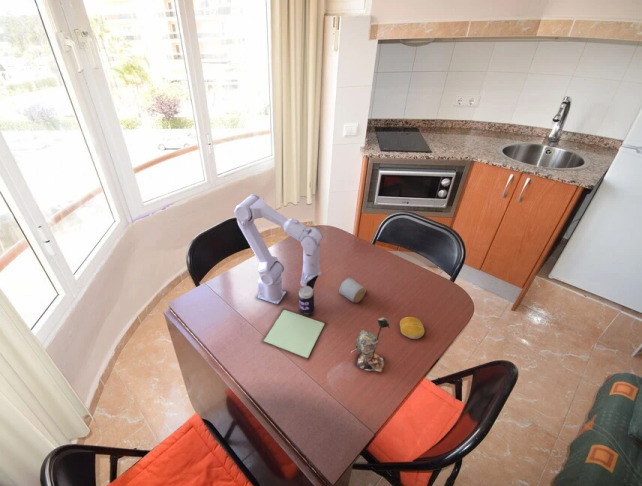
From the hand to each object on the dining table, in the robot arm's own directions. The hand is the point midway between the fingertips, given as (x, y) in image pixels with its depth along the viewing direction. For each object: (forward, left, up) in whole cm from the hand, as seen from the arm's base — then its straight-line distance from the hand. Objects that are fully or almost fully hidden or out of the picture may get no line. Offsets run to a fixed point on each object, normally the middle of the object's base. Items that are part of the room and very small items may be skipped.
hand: (310, 289), depth 123 cm
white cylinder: (+14, +14, -10) cm, 22 cm away
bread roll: (+38, +5, -10) cm, 40 cm away
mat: (0, -14, -10) cm, 17 cm away
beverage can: (0, -2, -9) cm, 10 cm away
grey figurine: (+27, -15, -10) cm, 32 cm away
